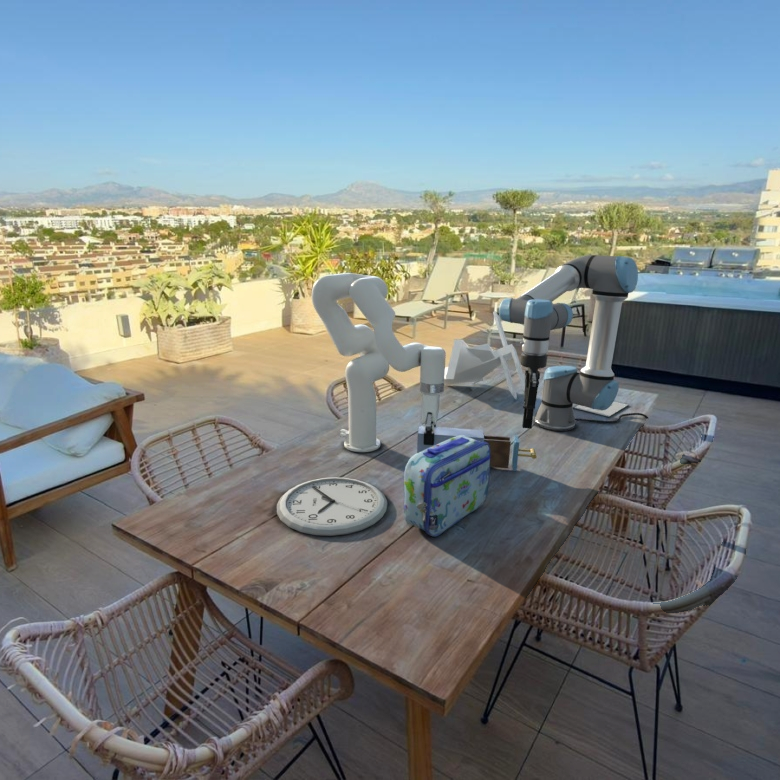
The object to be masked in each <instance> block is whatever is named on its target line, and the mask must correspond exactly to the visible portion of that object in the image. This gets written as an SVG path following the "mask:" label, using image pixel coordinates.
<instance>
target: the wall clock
mask: <svg viewBox="0 0 780 780" xmlns="http://www.w3.org/2000/svg"><path fill="white" fill-rule="evenodd" d="M387 509H388V500H387V498H386V496H385V494H384V493H383V492H382V491H381V490H380V489H379V488H377V487H376V486H374V485H372V484H371V483H369V482H365V481H362V480H359V479H355V478H349V477H338V476H337V477H335V476H333V477H332V476H331V477H322V478H317V479H312V480H307V481H305V482H302V483H299V484H297V485H295V486H293V487H292V488H290V489H288V490H287V491H286V492H285V493H284V494H283V495H281V496H280V498H279V499H278V502H277V503H276V515H277V517H278V518H279V520H280V521H281V522H282V523H283V524H285V525H286V526H287V527H288V528H290V529H293V530H295V531H297V532H299V533H303V534H308V535H312V536H327V537H328V536H329V537H331V536H332V537H333V536H342V535H350V534H352V533H356V532H361V531H363V530H366V529H368V528H369V527H372V526H373V525H375V524H376V523H378V522H379V521H380V520H381V519H382V518H383V517H384V516H385V514H386V512H387Z"/></svg>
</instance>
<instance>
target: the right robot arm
mask: <svg viewBox="0 0 780 780" xmlns="http://www.w3.org/2000/svg"><path fill="white" fill-rule="evenodd" d="M638 281H639V270H638V265H637V262H636V261H635V260H634V259H633V258H632V257H629V256H622V255H618V256H617V255H599V254H597V255H596V254H586V255H582V256H579V257H576V258H573V259H571V260H568V261H567V262H565V263H563V264H561V265H560V266H559V267H557V268H556V269H555V271H554V273H553V274H552V275H550V276H549V277H547V278H545V279H544V280H543V281H541V282H540V283H537V284H536V285H535V286H533V287H532V288H530V289H529V290H527V291H526V292H524V293H523V294H521V295H520V296H518V297H516V298H513V297H511V298H510V297H509V298H507V297H506V298H504V299H502V301H501V302H500V304H499V307H498V313H499V314H498V316H499V318H500V320H501V321H503V322H508V323H510V324H518V325H523V335H522V340H521V341H520V345H521V351H522V352H521V354H520V361H519V362H520V365H521V367H523V368H527V370H524V378H525V393H524V392H523V393H524V395H523V402H524V403H523V405H522V409H523V414H522V425H521V426H522V429H529V430H530V429H533V421H534V424H535V425H536V426H537V427H539V428H542V429H544V430H549V431H556V432H567V431H572V430H574V429H575V428H576V421H577V422H589V423H590V422H591V423H598V424H599V423H600V424H615V423H618V422H620V421H621V419H622V418H624V417H628V416H641V417H644V418H645V419H648V420H649V416H648V415H646V414H645V413H641V412H630V413H622V414H620V415H619V416H618V418H617V419H615V420H599V419H589V418H577V417H576V416H575V413H574V407H573V405H576V406H578V405H581V406H585V407H589V408H592V409H597V410H606V409H608V408H609V407H610V406H611V405H612V403H613V402H615V400H616V398H617V395H618V392H619V389H620V386H619V385H620V384H619V382H618V381H617V380H616V379H615V373H614V372H613V370H612V364H613V358H614V352H615V346H616V342H617V334H618V331H619V330H618V329H619V323H620V317H621V312H622V311H621V310H622V306H623V303H624V301H625V300H627V299H628V298H629V294H631V293H633V292H634V291H635V290H636V288H637V285H638ZM576 289H589V290H592V293H591V295H592V296H593V298H594V300H595V304H594V309H593V310H594V311H593V317H592V323H591V328H590V335H589V341H588V349H587V354H586V361H585V365H584V366H583V367H582V368H581V369H580V371H579V372H578V368H577V367H576V366H572V365H555V366H554V365H553V366H550V367H547V365H548V353H549V347H550V340H551V339H550V336H551V331H553V330H560V329H562V328H565V327H567V326H569V325H570V324H571V322H572V321H573V318H574V312H573V309H572V308H571V306H570V305H569V304H567V303H565V302H556V303H553V302H554V301H555V300H557V299H558V298H560V297H561V296H563V295H564V294H565V293H567V292H572V291H575V290H576ZM544 368H546V369H545V371H544V375H543V381H542V382H543V383H542V394H541V402H540V405H539V407H538V410H537V411H536V413H535V415H534V412H535V411H534V410H535V409H536V404H537V403H536V402H537V398H538V396H537V395H538V390H539V389H538V388H539V384H540V381H539V380H540V378H541V373H540V371H539V369H544ZM575 417H576V418H575ZM533 419H534V420H533Z"/></svg>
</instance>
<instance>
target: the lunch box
mask: <svg viewBox="0 0 780 780" xmlns="http://www.w3.org/2000/svg"><path fill="white" fill-rule="evenodd" d="M490 473H491V467H490V446H489V444H488V443H487V442H484V441H482V442H480V441H477V440H474V439H472V438H469V437H467V436H464V435H459V436H456V437H453V438H451V439H448V440H446V441H444V442H441V443H439V444H437V445H434V446H432V447H430V448H428V449H426V450H424V451H421V452H419V453H417V452H416V453H415V454H413V455H411V457H410V458H409V459H408V460H407V463H406V464H405V467H404V472H403V517H404V521H405V522H406V523H407V524H409V525H411V526H414V527H416V528H419V529H421V530H423V531H424V532H425V533H426V535H429V536H430V537H433V538H434V537H439V536H440V535H441V534H442V533H444V532H446V531H447V530H448V529H450V528H451V527H452V526H454V525H455V524H457V523H458V522H459V521H461V520H463V519H464V518H465V517H466V516H468V515H469V514H471V513H473V512H475V511H476V510H478V509H479V508H481V507H482V505H484V502H486V501H485V500H486V499H487V496H488V493H489V487H490Z"/></svg>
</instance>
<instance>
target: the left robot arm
mask: <svg viewBox="0 0 780 780" xmlns="http://www.w3.org/2000/svg"><path fill="white" fill-rule="evenodd" d="M388 293H389V288H388V285H387V283H386V282H385V280H383V279H382V278H381V277H379V276H375V275H367V274H361V273H360V274H359V273H354V272H353V273H352V272H343V273H334V274H327V275H323V276H321V277H319V278H318V279H316V281H315V282H314V284H313V285H312V288H311V303H312V306H313V309H314V310H315V312H316V313H317V315H318V317H319V318H320V320H321V321H322V323H323V325H324V327H325V329H326V332H327V333H328V335H329V337H330V339H331V341H332V342H333V345H334V346H335V348H336V351H337V352H338V353H339V354H340V356H343V357H352V356H354V355H358V357H355V358H353V359H352V360H351V361H349V362H348V364H347V365H346V366H345V371H344V374H345V381H346V386H347V402H348V430H347V429H344V428H341V429H340V431H339V437H341V438H345V440H344V443H343V446H344V448H345V449H346V450H348V451H351V452H355V453H370V452H374V451H376V450H379V448H380V447H381V440H380V439H379V438H377V393H376V390H375V387H374V383H375V382H376V381H379V380H381V379H383V378H385V377H386V376H387V375H388V374H389V371H390V367H391V368H392V369H393V370H395V371H397V372H399V373H403V372H407V371H408V372H409V371H410V370H413V369H414V368H419V367H420V368H419V392H420V393H421V394H422V395H421V410H420V412H421V414H420V424H421V425H424V426H425V432H424V445H434V427H437V422H438V416H439V411H440V410H439V409H440V397H441V395H442V394H444V393H445V384H444V378H445V368H446V358H447V357H446V356H447V355H446V353H447V352H446V350H445V349H444V348H443V347H440V346H430V345H426V344H423V343H421V342H411V343H408V344H405V345H402V343H400V341H399V339H398V338H397V337H396V335H395V333H394V330H393V322H394V320H395V318H396V311H395V310H394V308H393V307H392V306H391V304H389V302H388V300H387V299H386V298H387V296H388ZM347 299H351V300H352V302H353V303H354V304H355V306H356V307H357V308H358V310H359V311H360V312H361V313H362V315H363V317H365V319H366V320H367V322H368V323H369V324H370V326H371V327H372V328H371V327H369V326H368V325H366V324H355V325H354V323H353V322H352V320H351V318H350V317H349V315H348V313H347V311H346V310H345V309H344V308H343V306H341V305H340V304H339V303H338V301H341V300H347Z"/></svg>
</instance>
